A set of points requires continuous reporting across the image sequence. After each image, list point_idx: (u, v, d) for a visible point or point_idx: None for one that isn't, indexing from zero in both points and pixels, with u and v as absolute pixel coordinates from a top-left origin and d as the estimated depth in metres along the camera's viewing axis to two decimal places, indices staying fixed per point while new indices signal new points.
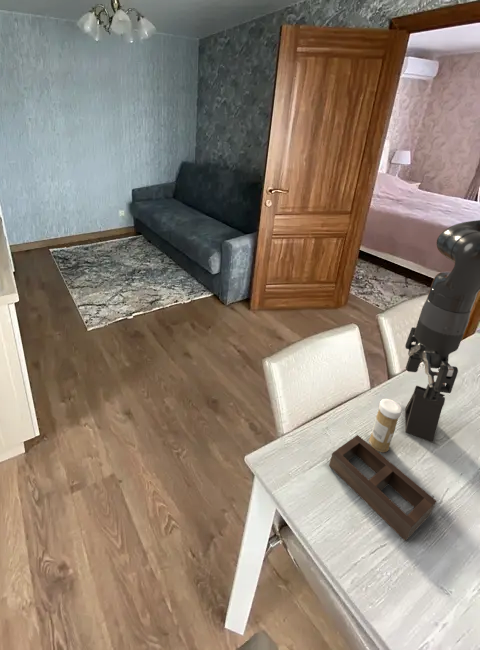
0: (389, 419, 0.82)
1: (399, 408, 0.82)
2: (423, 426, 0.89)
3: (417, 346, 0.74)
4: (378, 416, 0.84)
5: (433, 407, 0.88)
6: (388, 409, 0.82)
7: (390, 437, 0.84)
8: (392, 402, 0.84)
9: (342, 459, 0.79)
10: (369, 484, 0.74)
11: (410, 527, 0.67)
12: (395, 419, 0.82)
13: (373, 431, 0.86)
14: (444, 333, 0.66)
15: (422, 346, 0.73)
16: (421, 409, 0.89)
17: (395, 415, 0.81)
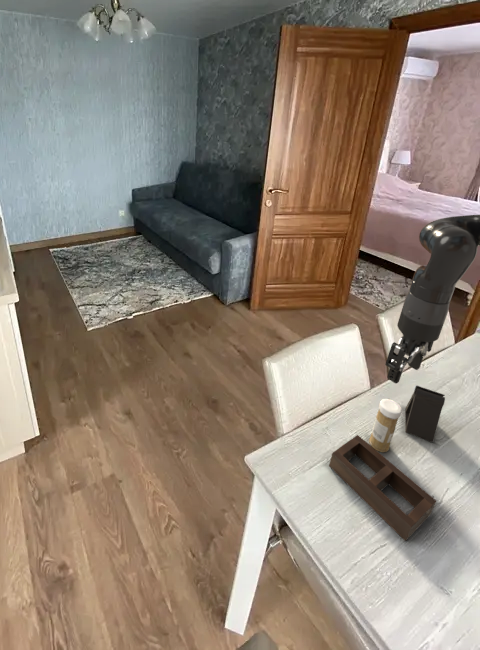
0: (389, 419, 0.82)
1: (399, 408, 0.82)
2: (423, 426, 0.89)
3: None
4: (378, 416, 0.84)
5: (433, 407, 0.88)
6: (388, 409, 0.82)
7: (390, 437, 0.84)
8: (392, 402, 0.84)
9: (342, 459, 0.79)
10: (369, 484, 0.74)
11: (410, 527, 0.67)
12: (395, 419, 0.82)
13: (373, 431, 0.86)
14: (407, 316, 0.72)
15: None
16: (421, 409, 0.89)
17: (395, 415, 0.81)
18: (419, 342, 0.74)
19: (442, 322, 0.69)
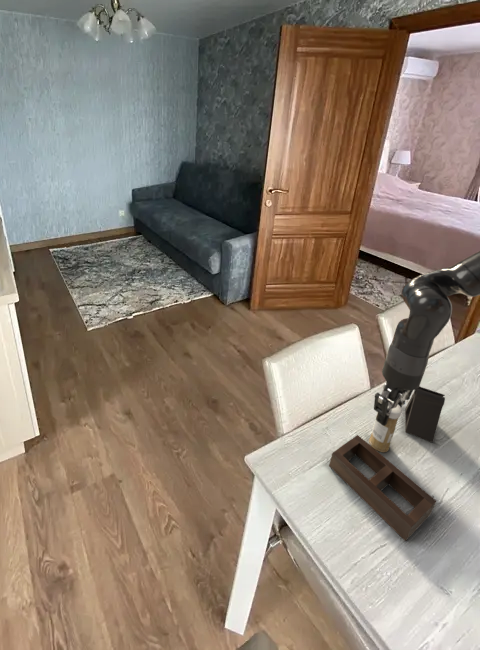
0: (389, 419, 0.82)
1: (399, 408, 0.82)
2: (423, 426, 0.89)
3: None
4: None
5: (433, 407, 0.88)
6: None
7: (390, 437, 0.84)
8: (392, 402, 0.84)
9: (342, 459, 0.79)
10: (369, 484, 0.74)
11: (410, 527, 0.67)
12: (395, 419, 0.82)
13: (373, 431, 0.86)
14: (390, 365, 0.77)
15: None
16: (421, 409, 0.89)
17: (395, 415, 0.81)
18: (401, 388, 0.79)
19: (422, 373, 0.75)
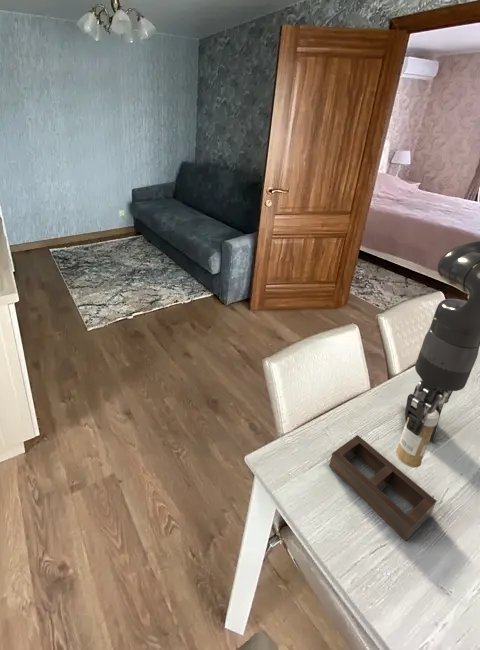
0: (424, 427, 0.65)
1: (436, 413, 0.65)
2: None
3: None
4: None
5: None
6: None
7: (424, 449, 0.67)
8: None
9: (342, 459, 0.79)
10: (369, 484, 0.74)
11: (410, 527, 0.67)
12: (431, 427, 0.65)
13: (402, 441, 0.70)
14: (428, 359, 0.61)
15: None
16: None
17: (432, 423, 0.64)
18: (441, 389, 0.63)
19: (470, 368, 0.58)
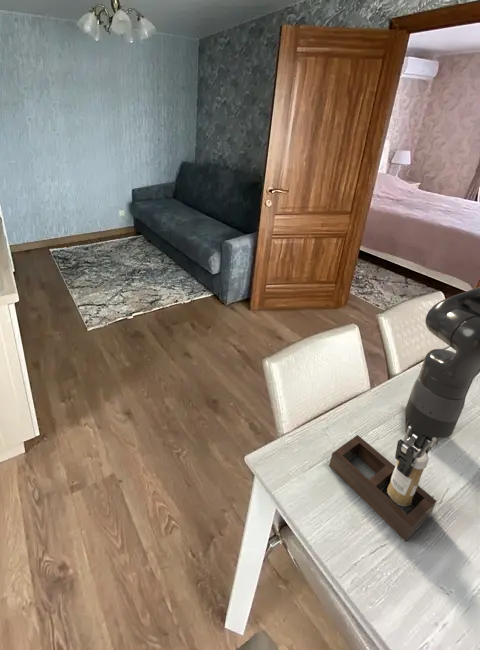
0: (414, 469, 0.67)
1: (425, 456, 0.68)
2: None
3: None
4: None
5: None
6: None
7: (414, 489, 0.69)
8: None
9: (342, 459, 0.79)
10: (369, 484, 0.74)
11: (410, 527, 0.67)
12: (421, 469, 0.67)
13: (392, 480, 0.72)
14: (417, 407, 0.63)
15: None
16: None
17: (421, 466, 0.67)
18: None
19: (457, 418, 0.60)
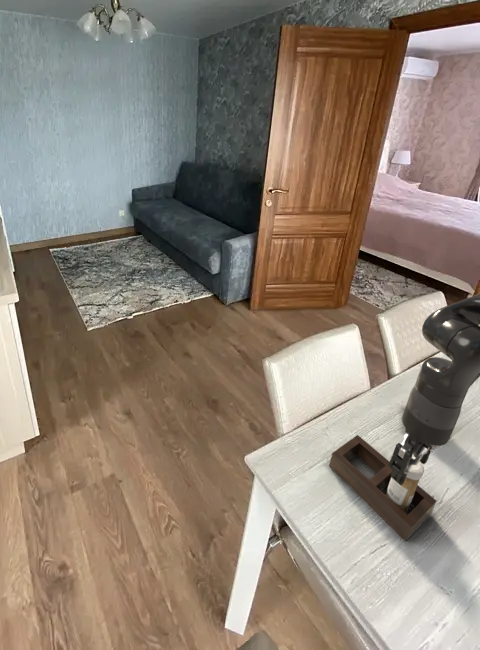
0: (410, 480, 0.69)
1: (421, 467, 0.69)
2: None
3: None
4: None
5: None
6: None
7: (410, 500, 0.71)
8: None
9: (342, 459, 0.79)
10: (369, 484, 0.74)
11: (410, 527, 0.67)
12: (416, 480, 0.68)
13: (389, 490, 0.73)
14: (413, 415, 0.63)
15: None
16: None
17: (417, 476, 0.68)
18: None
19: (453, 426, 0.61)
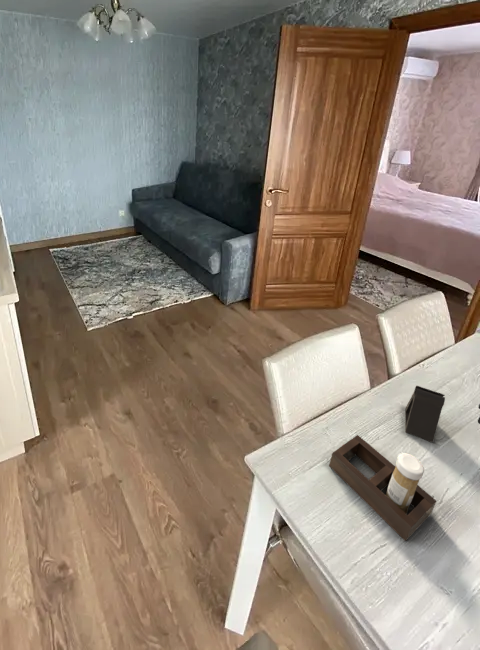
0: (410, 480, 0.69)
1: (421, 467, 0.69)
2: (423, 426, 0.89)
3: None
4: (395, 474, 0.71)
5: (433, 407, 0.88)
6: (408, 468, 0.68)
7: (410, 500, 0.71)
8: (412, 458, 0.70)
9: (342, 459, 0.79)
10: (369, 484, 0.74)
11: (410, 527, 0.67)
12: (416, 480, 0.68)
13: (389, 490, 0.73)
14: None
15: None
16: (421, 409, 0.89)
17: (417, 476, 0.68)
18: None
19: None
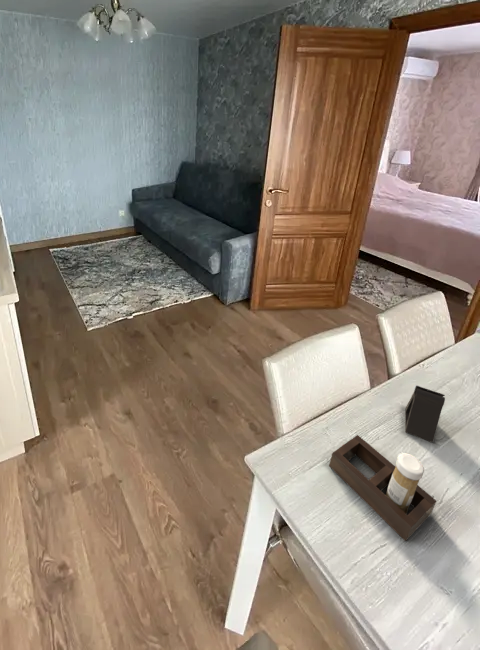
0: (410, 480, 0.69)
1: (421, 467, 0.69)
2: (423, 426, 0.89)
3: None
4: (395, 474, 0.71)
5: (433, 407, 0.88)
6: (408, 468, 0.68)
7: (410, 500, 0.71)
8: (412, 458, 0.70)
9: (342, 459, 0.79)
10: (369, 484, 0.74)
11: (410, 527, 0.67)
12: (416, 480, 0.68)
13: (389, 490, 0.73)
14: None
15: None
16: (421, 409, 0.89)
17: (417, 476, 0.68)
18: None
19: None
